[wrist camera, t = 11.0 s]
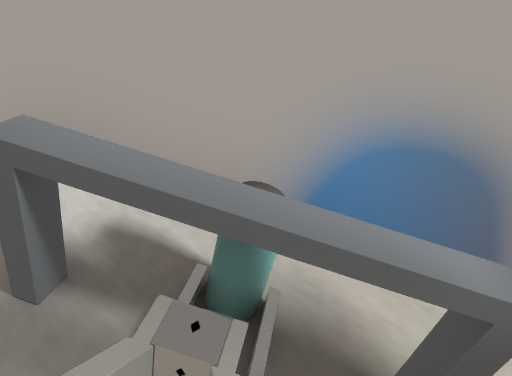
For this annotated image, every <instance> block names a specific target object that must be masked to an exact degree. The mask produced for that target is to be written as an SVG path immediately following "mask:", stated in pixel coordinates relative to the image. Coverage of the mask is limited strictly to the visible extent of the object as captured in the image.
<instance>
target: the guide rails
mask: <svg viewBox="0 0 512 376" xmlns="http://www.w3.org/2000/svg"><path fill="white" fill-rule="evenodd" d="M207 268H208V266H206V265H203V264H200V263H197V265H196V267H195V269H194V270H193V272H192V274H191V276H190V278H189V280H188V281H187V283H186V285H185V287H184V289H183V291H182V293H181V294H180V296H179V298H178V300H179V301H182V302H185V303H187V304H190V305H194V303H195V301H196V299H197V296H198V294H199V292H200V290H201V288H202V286H203V284H204V282H205V277H206V273H207ZM280 291H281V290H278V289H275V288H272V287H270V289H269V291H268V294H267V297H266V300H265V303H264V307H263V311H262V315H261V319H260V323H259V327H258V331H257V335H256V340H255V344H254V348H253V352H252V356H251V360H250V364H249V368H248V372H247V376H264V372H265V367H266V362H267V357H268V352H269V347H270V342H271V337H272V332H273V327H274V321H275V316H276V311H277V306H278V301H279V296H280Z"/></svg>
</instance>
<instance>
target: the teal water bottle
mask: <svg viewBox="0 0 512 376" xmlns="http://www.w3.org/2000/svg"><path fill="white" fill-rule="evenodd" d="M243 184H246V185H249V186H252V187H256V188H259V189H262V190H265V191H268V192H271V193H275V194H278V195H281V196H284V194H283V193H282V192H281V191H280V190H278V189H277V188H275V187H273V186H271V185H269V184H266V183H262V182H256V181H248V182H243ZM284 197H285V196H284ZM276 254H277V253H274V252H271V251H268V250H265V249H261V248H258V247H255V246H252V245H249V244H246V243H243V242H240V241H237V240H234V239H231V238H228V237H225V236H222V235H219V234H218V237H217V241H216V246H215V251H214V255H213V260H212V264H211V269H210V274H209V278H208V283H207V287H206V292H205V302H206V305H207V307H208V308H209V310H210V311H213V312H217V313H220V314H223V315H226V316H230V317H233V319H237V320H241V321H244V320H247V319H249V318H250V317H252V316H253V315H254V313H255V312H256V310H257V308H258V305H259V302H260V300H261V297H262V294H263V291H264V288H265V285H266V282H267V280H268V277H269V274H270V271H271V268H272V265H273V262H274V260H275V257H276Z"/></svg>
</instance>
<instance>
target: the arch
mask: <svg viewBox="0 0 512 376" xmlns="http://www.w3.org/2000/svg"><path fill="white" fill-rule="evenodd" d="M58 182H59V183H62V184H65V185H68V186H71V187H74V188H77V189H80V190H83V191H86V192H90V193H93V194H96V195H99V196H102V197H105V198H108V199H111V200H114V201H117V202H120V203H123V204H126V205H129V206H133V207H136V208H139V209H142V210H145V211H148V212H151V213H154V214H157V215H160V216H163V217H166V218H169V219H172V220H176V221H179V222H182V223H185V224H188V225H191V226H194V227H197V228H200V229H203V230H206V231H209V232H212V233H215V234H219V235H222V236H225V237H228V238H231V239H234V240H237V241H240V242H243V243H246V244H249V245H252V246H255V247H258V248H261V249H265V250H268V251H271V252H274V253H277V254H280V255H283V256H286V257H289V258H292V259H295V260H298V261H301V262H304V263H308V264H311V265H314V266H317V267H320V268H323V269H326V270H329V271H332V272H335V273H338V274H341V275H344V276H347V277H351V278H354V279H357V280H360V281H363V282H366V283H369V284H372V285H375V286H378V287H381V288H384V289H387V290H390V291H394V292H397V293H400V294H403V295H406V296H409V297H412V298H415V299H418V300H421V301H424V302H427V303H430V304H433V305H437V306H440V307H443V308H446V309H448V311H447V312H446V313H445V314H444V316H443V317H442V318H441V319H440V321H439V322H438V323H437V324H436V325H435V327H434V328H433V329H432V330H431V332H430V333H429V334H428V335H427V336H426V338H425V339H424V340H423V341H422V343H421V344H420V345H419V346H418V348H417V349H416V350H415V351H414V352H413V354H412V355H411V356H410V357H409V359H408V360H407V361H406V362H405V364H404V365H403V366H402V367H401V368H400V370H399V371H398V372H397V373H396V375H395V376H492V375H493V374H495V373H496V372H497V371H498V370H499V369H500V368H501V367H502V366H503V365H504V364H505V363H507V362H508V361H509V360H510V359H511V358H512V268H511V267H508V266H505V265H501V264H498V263H495V262H492V261H488V260H485V259H482V258H479V257H476V256H472V255H470V254H466V253H463V252H460V251H457V250H453V249H450V248H447V247H444V246H441V245H437V244H434V243H431V242H428V241H425V240H421V239H418V238H415V237H412V236H409V235H406V234H402V233H399V232H396V231H393V230H389V229H386V228H383V227H380V226H377V225H373V224H370V223H367V222H364V221H361V220H358V219H354V218H351V217H348V216H345V215H342V214H339V213H335V212H332V211H329V210H325V209H322V208H319V207H316V206H313V205H310V204H306V203H303V202H300V201H297V200H294V199H291V198H287V197H284V196H281V195H278V194H275V193H271V192H268V191H265V190H262V189H259V188H256V187H252V186H249V185H246V184H243V183H240V182H236V181H233V180H230V179H227V178H224V177H220V176H217V175H214V174H210V173H208V172H204V171H201V170H198V169H195V168H192V167H188V166H185V165H182V164H179V163H176V162H172V161H169V160H166V159H163V158H160V157H156V156H153V155H150V154H147V153H143V152H140V151H137V150H134V149H131V148H128V147H124V146H121V145H118V144H115V143H112V142H109V141H105V140H102V139H99V138H96V137H93V136H89V135H86V134H83V133H80V132H77V131H73V130H70V129H67V128H64V127H61V126H57V125H54V124H51V123H48V122H45V121H41V120H38V119H35V118H32V117H28V116H25V115H20V116H17V117H15V118H12V119H9V120H6V121H3V122H1V123H0V241H1V245H2V250H3V254H4V258H5V263H6V267H7V271H8V275H9V280H10V284H11V288H12V293H13V296H14V297H16V298H19V299H22V300H25V301H28V302H31V303H33V304H36V305H38V304H39V303H40V302H41V301H42V300H43V299H44V298H45V297H46V296H47V295H48V294H49V293H50V292H51V291H52V290H53V289H54V288H55V287H56V286H57V285H58V284H59V283H60V282H61V281H62V280H63V279H64V278H65V277H66V276H67V270H66V260H65V250H64V240H63V230H62V220H61V210H60V200H59V190H58Z"/></svg>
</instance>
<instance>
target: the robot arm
mask: <svg viewBox="0 0 512 376" xmlns="http://www.w3.org/2000/svg"><path fill="white" fill-rule="evenodd" d="M248 324H249V323H247V322H244V321H241V320H237V319H233V317H230V316H226V315H223V314H220V313H217V312H213V311H210V310H207V309H202V308H199V307H196V306H193V305H190V304H187V303H185V302H182V301H179V300H176V299H173V298H170V297H167V296H164V295H161V294H160V295H159V296H158V297H157V298H156V300H155V301H154V303H153V305H152V306H151V308H150V309H149V311H148V313H147V314H146V316H145V317H144V319H143V321H142V322H141V324H140V326H139V327H138V329H137V330H136V332H135V334H134V335H133V337H132V338H130V337H126V338H124V339H122V340H121V341H119V342H117V343H116V344H114V345H112V346H110V347H109V348H107V349H105V350H104V351H102V352H100V353H98V354H97V355H95V356H93V357H92V358H90V359H88V360H86V361H85V362H83V363H81V364H80V365H78V366H76V367H75V368H73V369H71V370H69V371H68V372H66V373H64V374H63V375H61V376H240V375H239V374H236V373H235V371H236V368H237V364H238V361H239V357H240V354H241V350H242V347H243V343H244V339H245V336H246V332H247V329H248Z"/></svg>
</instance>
